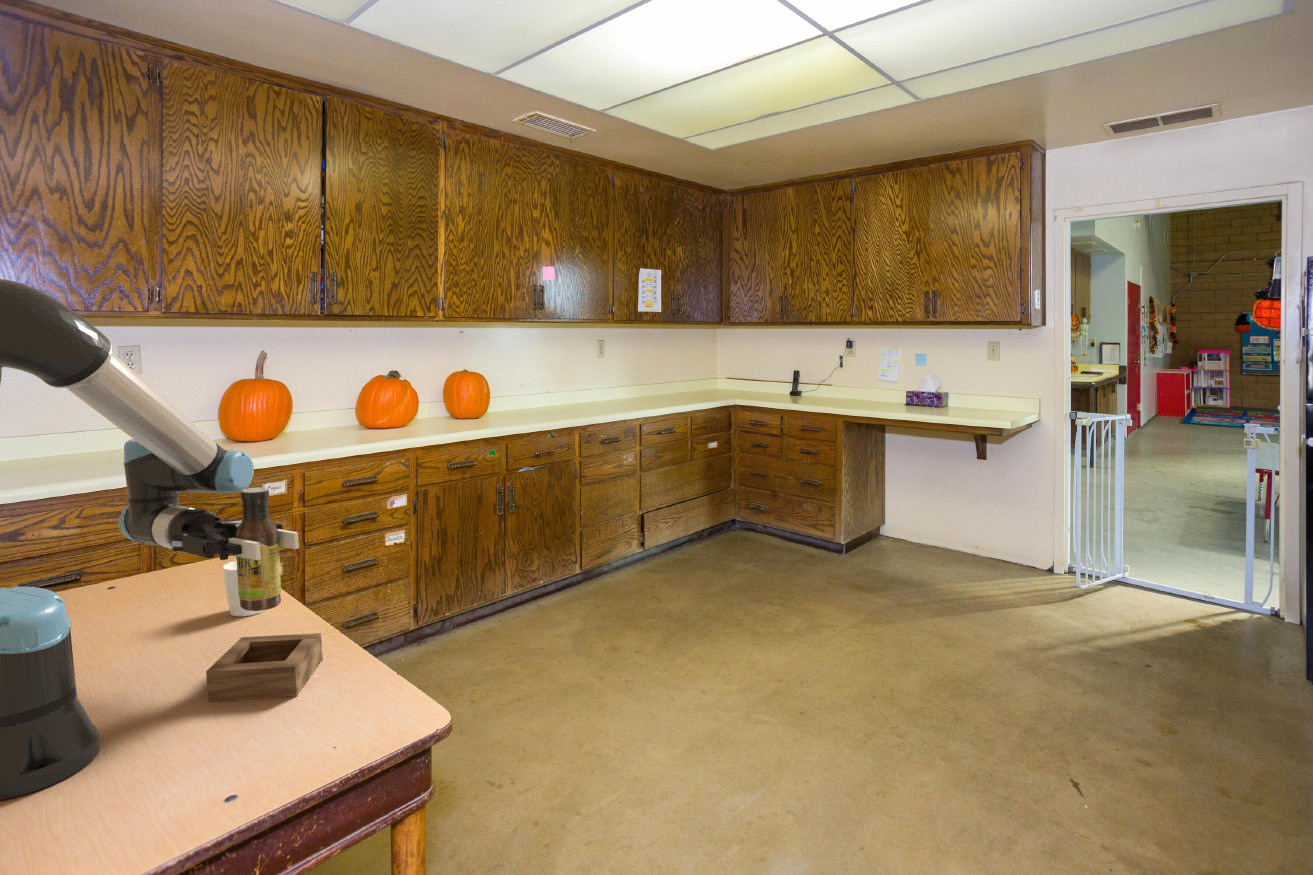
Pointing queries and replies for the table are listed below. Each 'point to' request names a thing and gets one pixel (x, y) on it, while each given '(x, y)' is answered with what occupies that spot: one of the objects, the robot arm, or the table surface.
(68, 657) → the robot arm
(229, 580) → the white cup
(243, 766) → the table surface
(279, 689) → the crate
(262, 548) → the sauce bottle
